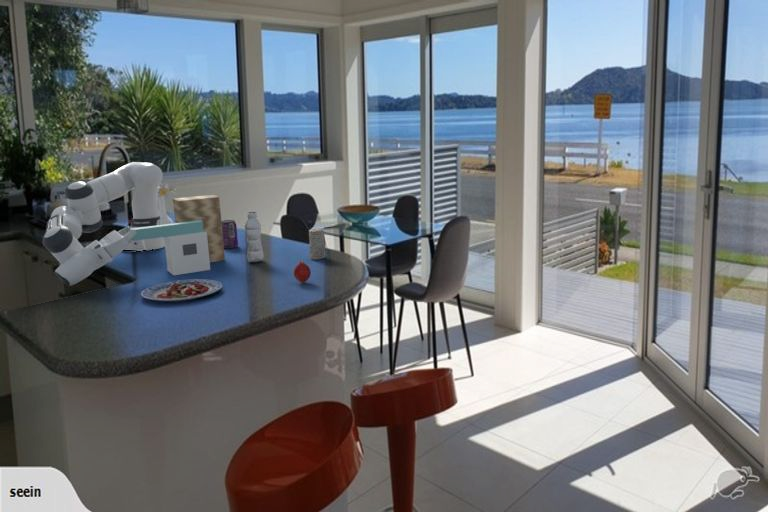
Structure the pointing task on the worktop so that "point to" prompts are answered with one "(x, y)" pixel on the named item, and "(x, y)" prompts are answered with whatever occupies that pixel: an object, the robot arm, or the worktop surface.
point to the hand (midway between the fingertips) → (132, 229)
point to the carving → (317, 244)
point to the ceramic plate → (181, 290)
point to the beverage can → (229, 233)
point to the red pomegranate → (302, 272)
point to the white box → (187, 253)
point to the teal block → (167, 230)
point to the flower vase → (161, 198)
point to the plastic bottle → (253, 238)
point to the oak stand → (209, 214)
